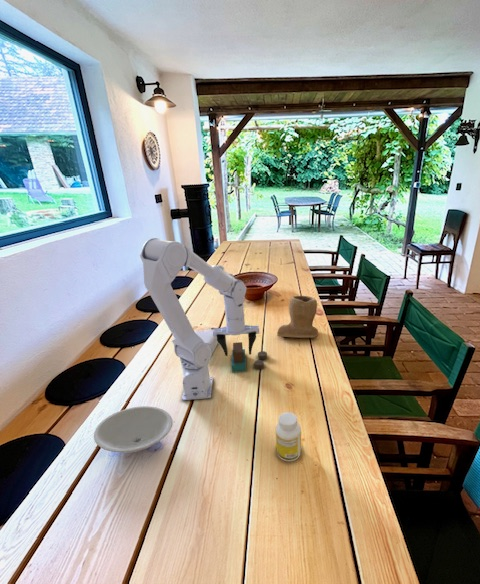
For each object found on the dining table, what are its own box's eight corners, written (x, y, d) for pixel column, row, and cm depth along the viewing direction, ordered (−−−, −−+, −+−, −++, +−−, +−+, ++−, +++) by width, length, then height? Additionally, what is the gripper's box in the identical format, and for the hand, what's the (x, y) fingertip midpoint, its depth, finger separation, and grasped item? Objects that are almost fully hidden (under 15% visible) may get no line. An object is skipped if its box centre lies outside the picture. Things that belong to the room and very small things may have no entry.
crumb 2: (264, 369, 103) (264, 364, 102) (254, 369, 103) (254, 365, 102) (263, 363, 106) (263, 359, 105) (253, 364, 106) (253, 360, 105)
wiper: (245, 371, 102) (244, 354, 100) (232, 372, 102) (230, 355, 100) (245, 355, 111) (244, 339, 109) (232, 356, 111) (231, 340, 109)
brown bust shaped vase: (318, 327, 129) (319, 292, 122) (317, 342, 118) (319, 304, 112) (280, 326, 131) (279, 291, 125) (276, 340, 120) (275, 303, 114)
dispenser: (223, 335, 125) (212, 355, 112) (201, 334, 127) (187, 353, 113) (222, 324, 123) (210, 343, 110) (199, 323, 125) (185, 342, 111)
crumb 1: (267, 359, 108) (267, 355, 107) (258, 360, 108) (257, 356, 107) (266, 354, 111) (266, 350, 110) (257, 355, 111) (257, 351, 110)
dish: (85, 466, 71) (78, 449, 69) (118, 420, 84) (113, 405, 82) (162, 470, 69) (158, 453, 67) (184, 422, 82) (181, 407, 80)
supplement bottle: (286, 439, 75) (285, 406, 71) (305, 450, 72) (306, 416, 68) (271, 454, 72) (270, 420, 68) (291, 466, 69) (291, 431, 64)
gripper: (257, 309, 104) (259, 346, 109) (212, 312, 103) (216, 349, 108) (258, 318, 97) (260, 356, 103) (210, 321, 96) (215, 360, 102)
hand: (238, 353), depth 105 cm, fingers open, 7 cm apart
